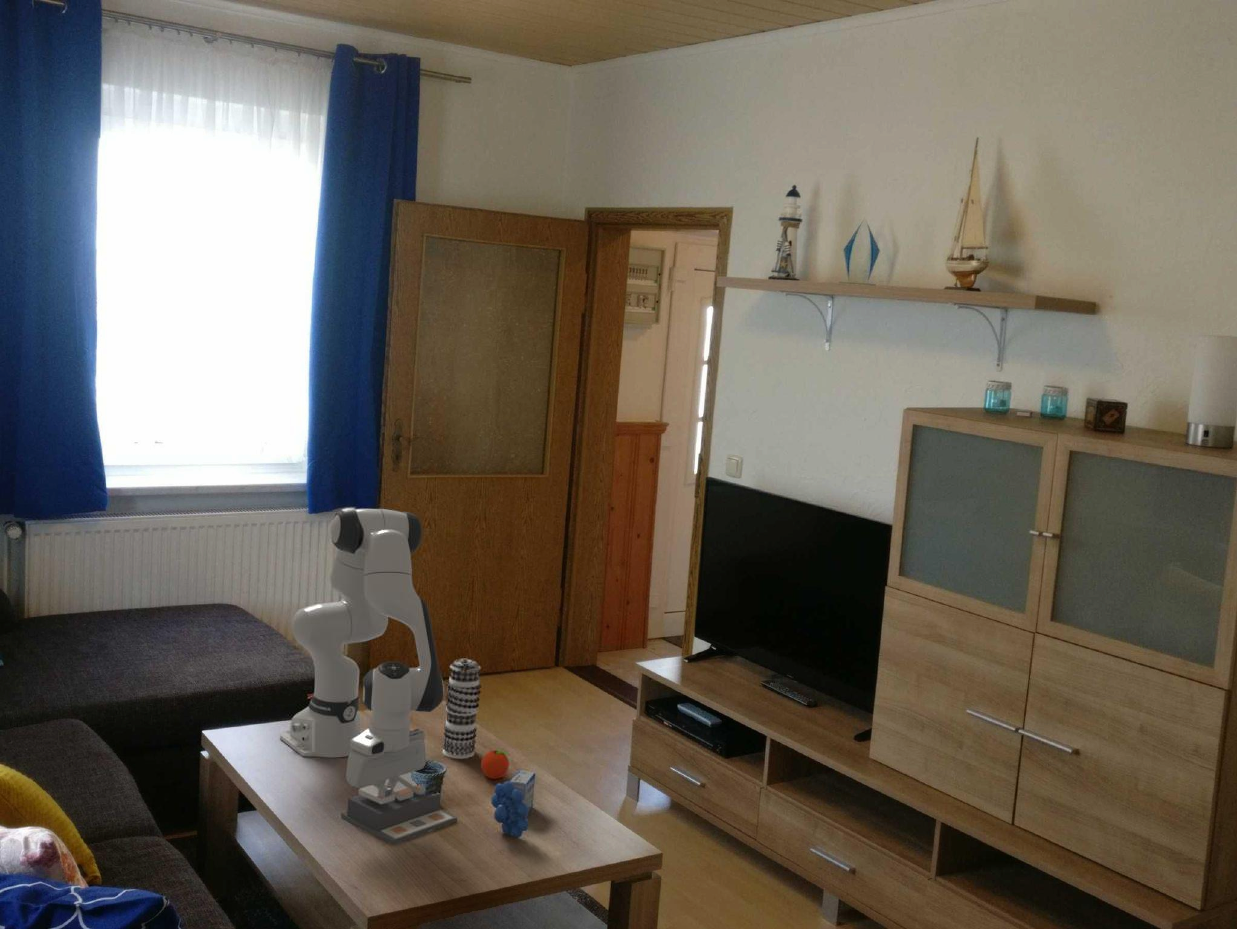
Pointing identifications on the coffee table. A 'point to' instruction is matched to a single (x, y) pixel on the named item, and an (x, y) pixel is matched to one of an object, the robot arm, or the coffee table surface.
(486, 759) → the tomato
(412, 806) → the switch unit
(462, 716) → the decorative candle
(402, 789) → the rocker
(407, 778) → the rocker
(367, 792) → the block
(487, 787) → the coffee table surface
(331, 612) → the robot arm
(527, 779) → the medicine box
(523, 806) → the grapes
